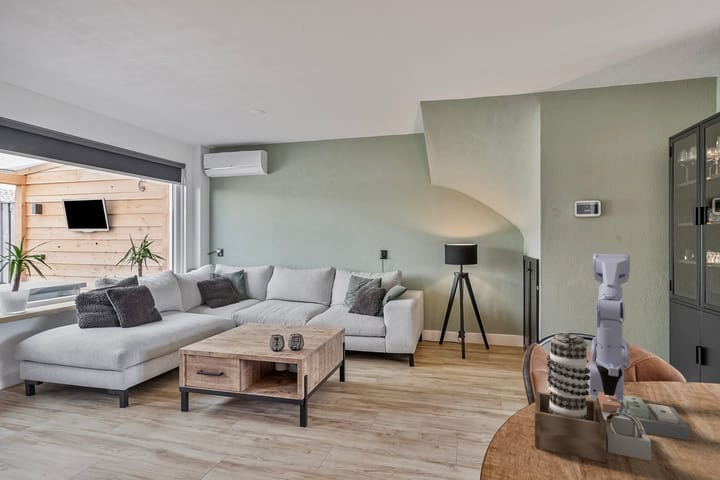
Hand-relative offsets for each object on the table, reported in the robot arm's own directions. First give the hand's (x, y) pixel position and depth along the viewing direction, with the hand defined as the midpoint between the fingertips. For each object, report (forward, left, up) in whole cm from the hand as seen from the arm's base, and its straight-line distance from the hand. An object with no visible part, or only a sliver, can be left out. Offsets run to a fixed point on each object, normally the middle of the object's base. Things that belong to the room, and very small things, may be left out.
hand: (608, 394), depth 107 cm
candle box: (-11, -19, -6) cm, 23 cm away
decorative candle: (-11, -19, -6) cm, 23 cm away
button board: (+6, 0, -6) cm, 8 cm away
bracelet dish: (+1, -15, -6) cm, 16 cm away
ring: (+1, -15, -6) cm, 16 cm away
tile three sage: (+6, 0, -4) cm, 7 cm away
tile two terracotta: (0, 0, -4) cm, 4 cm away
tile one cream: (+12, 0, -5) cm, 13 cm away
